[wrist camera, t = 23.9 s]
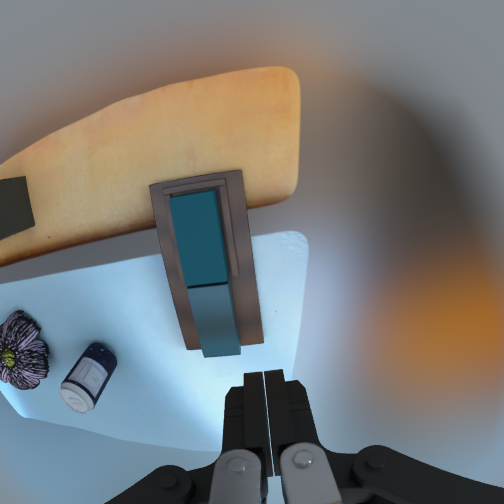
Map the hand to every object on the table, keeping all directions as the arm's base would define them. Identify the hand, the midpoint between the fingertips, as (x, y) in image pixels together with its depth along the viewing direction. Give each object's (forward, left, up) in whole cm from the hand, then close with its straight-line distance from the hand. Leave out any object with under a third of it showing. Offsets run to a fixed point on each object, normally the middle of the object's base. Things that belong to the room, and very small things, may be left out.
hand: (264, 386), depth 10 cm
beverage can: (+28, -14, -25) cm, 40 cm away
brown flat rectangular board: (+6, -3, -25) cm, 26 cm away
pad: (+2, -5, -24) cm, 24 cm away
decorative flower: (+36, -31, -25) cm, 54 cm away
